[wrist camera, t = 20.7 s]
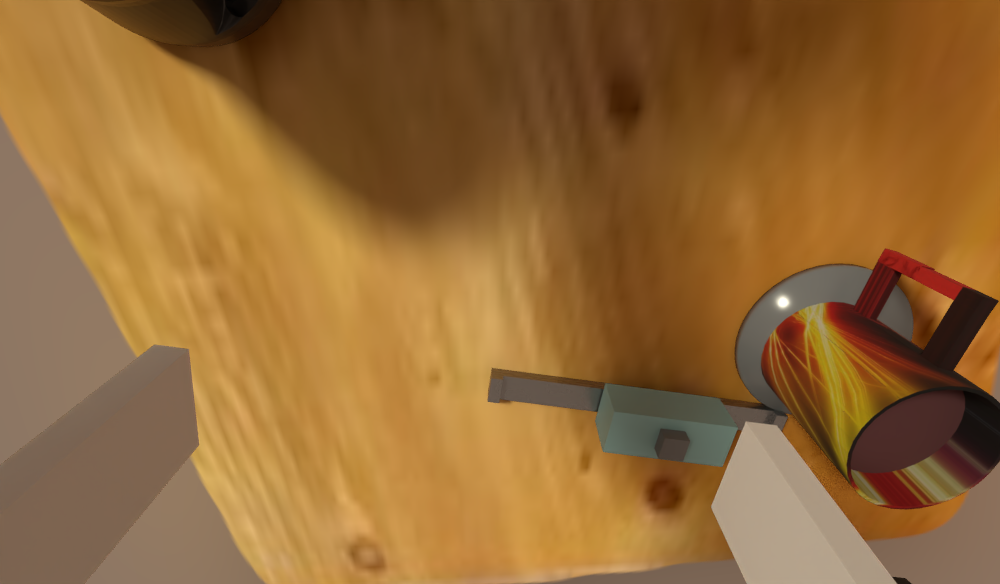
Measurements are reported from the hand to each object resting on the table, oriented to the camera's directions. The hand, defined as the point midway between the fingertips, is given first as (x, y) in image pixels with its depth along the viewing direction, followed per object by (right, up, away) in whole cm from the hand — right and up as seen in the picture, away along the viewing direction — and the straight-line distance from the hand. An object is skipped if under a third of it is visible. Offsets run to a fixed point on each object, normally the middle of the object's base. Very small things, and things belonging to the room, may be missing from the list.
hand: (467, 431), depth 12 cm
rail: (+13, -6, +34) cm, 37 cm away
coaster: (+28, -1, +31) cm, 42 cm away
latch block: (+14, -7, +33) cm, 36 cm away
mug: (+27, 0, +30) cm, 40 cm away
